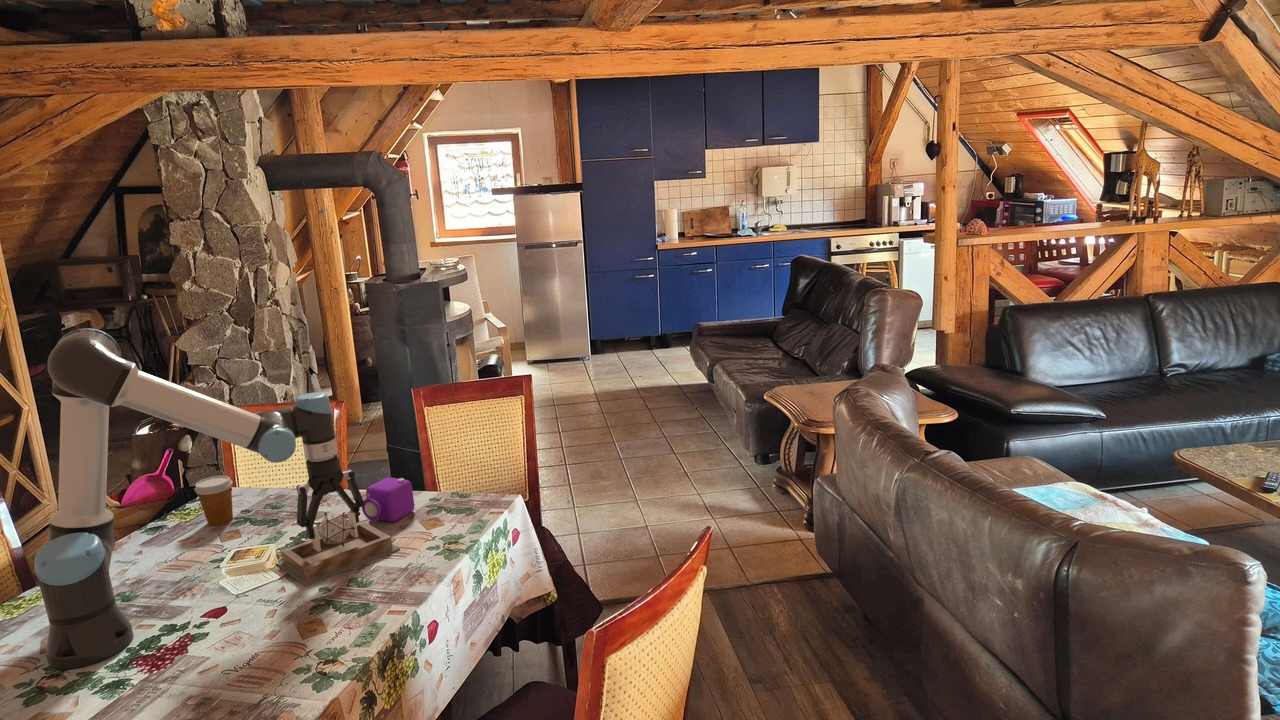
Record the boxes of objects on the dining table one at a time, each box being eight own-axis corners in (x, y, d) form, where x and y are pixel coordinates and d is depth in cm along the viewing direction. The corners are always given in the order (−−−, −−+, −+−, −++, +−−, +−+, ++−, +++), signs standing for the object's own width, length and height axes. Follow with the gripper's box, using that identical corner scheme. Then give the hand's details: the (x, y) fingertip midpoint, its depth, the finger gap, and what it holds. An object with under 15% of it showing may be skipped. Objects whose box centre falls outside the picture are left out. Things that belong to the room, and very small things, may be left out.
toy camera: (357, 527, 227) (351, 492, 224) (386, 506, 239) (381, 473, 237) (392, 529, 223) (387, 494, 221) (419, 508, 236) (415, 475, 234)
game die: (346, 554, 211) (367, 519, 212) (330, 558, 203) (351, 522, 203) (317, 536, 213) (338, 501, 213) (300, 539, 204) (321, 502, 205)
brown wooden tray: (308, 582, 197) (305, 569, 196) (283, 563, 208) (280, 550, 207) (392, 549, 211) (390, 536, 210) (365, 533, 222) (363, 521, 221)
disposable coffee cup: (202, 519, 239) (194, 479, 236) (239, 511, 242) (231, 472, 240) (201, 531, 230) (192, 490, 227) (239, 523, 234) (231, 483, 231)
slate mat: (305, 586, 195) (305, 585, 195) (275, 563, 208) (275, 562, 208) (400, 549, 211) (399, 548, 211) (366, 530, 224) (366, 529, 224)
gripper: (283, 473, 193) (299, 563, 199) (371, 447, 208) (383, 531, 213) (270, 466, 199) (286, 554, 204) (357, 441, 213) (369, 523, 218)
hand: (336, 542), depth 209 cm, fingers closed on game die, 9 cm apart
